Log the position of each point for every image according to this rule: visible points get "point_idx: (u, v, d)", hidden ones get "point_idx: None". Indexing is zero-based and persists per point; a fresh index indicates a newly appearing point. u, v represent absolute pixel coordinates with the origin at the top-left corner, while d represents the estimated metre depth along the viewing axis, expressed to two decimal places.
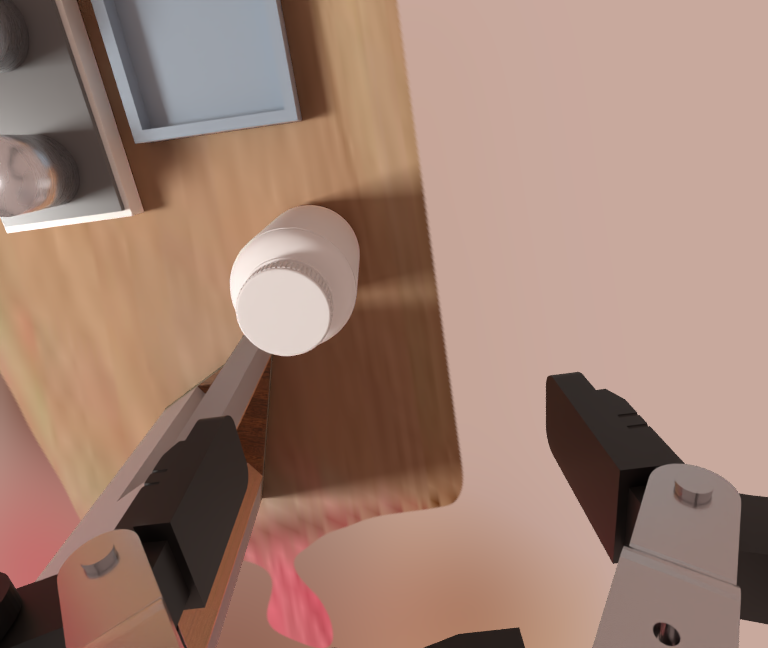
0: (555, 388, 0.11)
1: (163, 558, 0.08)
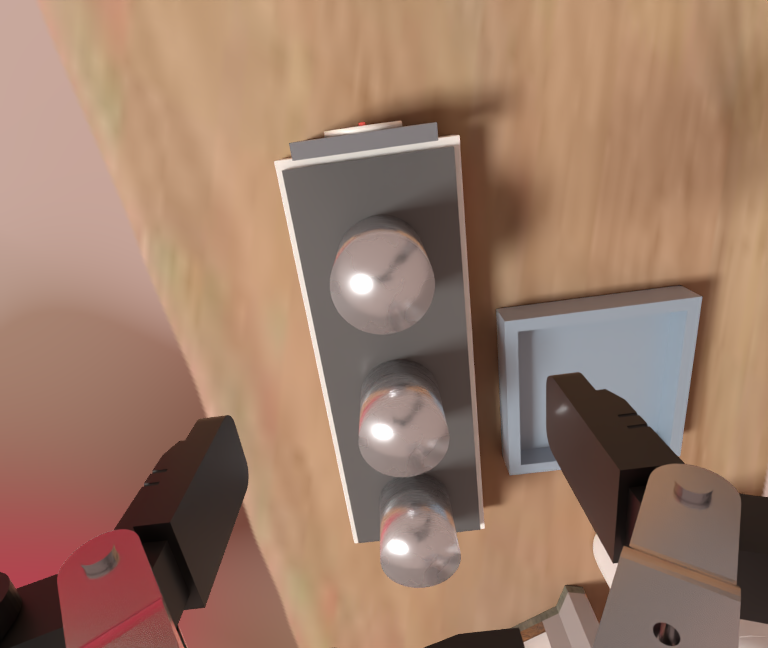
0: (555, 388, 0.11)
1: (163, 558, 0.08)
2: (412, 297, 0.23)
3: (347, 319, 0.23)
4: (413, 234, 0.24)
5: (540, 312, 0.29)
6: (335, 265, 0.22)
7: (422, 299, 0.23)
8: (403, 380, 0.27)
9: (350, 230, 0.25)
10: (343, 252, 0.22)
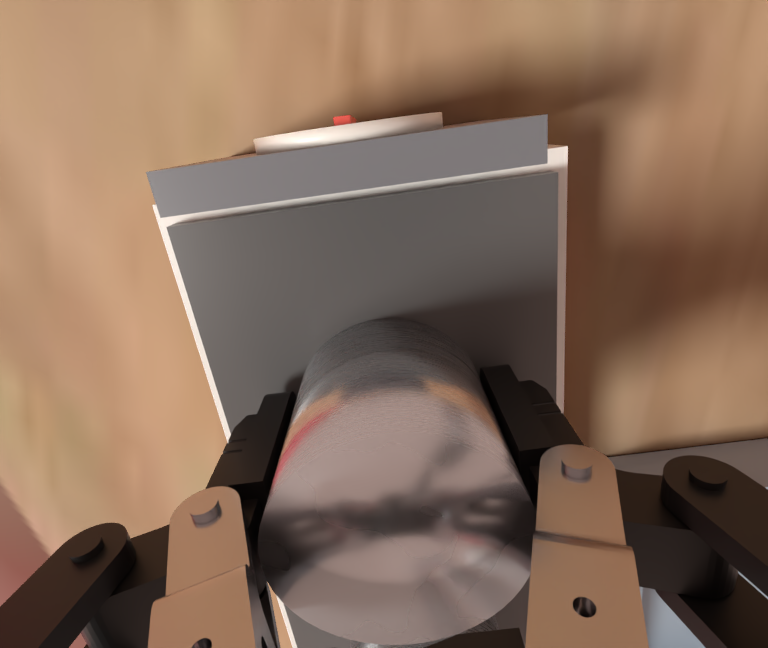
0: (484, 379, 0.12)
1: (256, 514, 0.09)
2: (477, 573, 0.09)
3: (309, 618, 0.09)
4: (468, 379, 0.10)
5: None
6: (270, 509, 0.08)
7: (503, 576, 0.09)
8: None
9: (323, 358, 0.11)
10: (291, 479, 0.08)
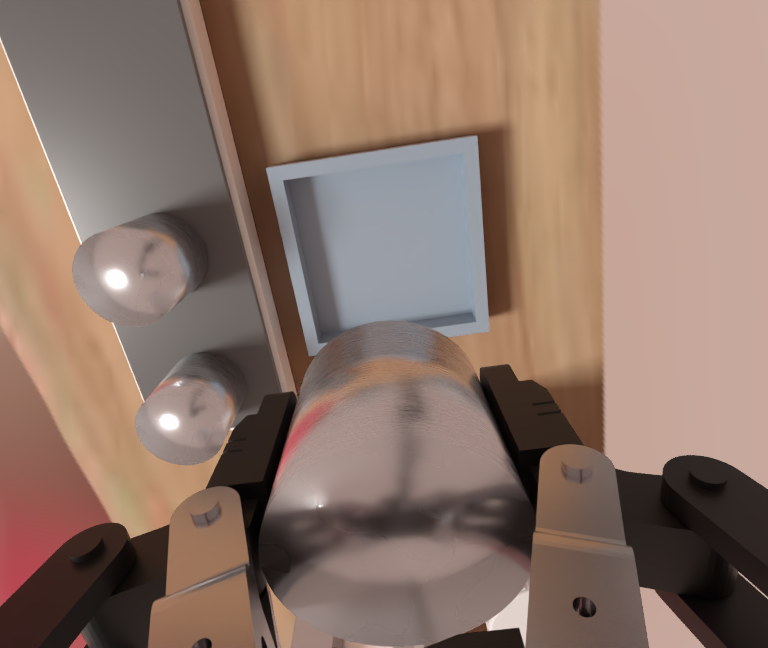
0: (484, 379, 0.12)
1: (256, 514, 0.09)
2: (476, 575, 0.09)
3: (309, 620, 0.09)
4: (468, 382, 0.10)
5: (309, 160, 0.27)
6: (271, 512, 0.08)
7: (503, 578, 0.09)
8: (136, 221, 0.25)
9: (323, 361, 0.11)
10: (291, 481, 0.08)
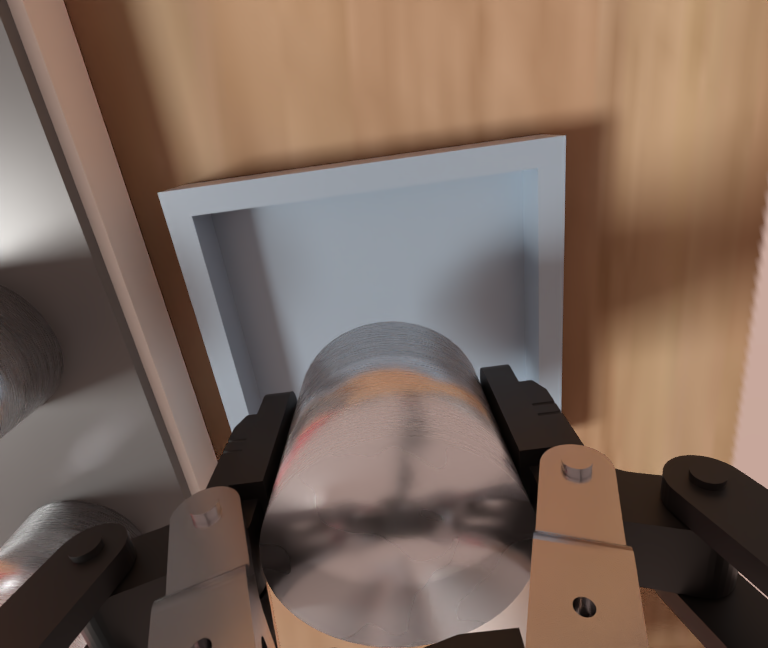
0: (484, 379, 0.12)
1: (256, 514, 0.09)
2: (476, 577, 0.09)
3: (310, 620, 0.09)
4: (468, 383, 0.10)
5: (244, 178, 0.14)
6: (271, 513, 0.08)
7: (503, 579, 0.09)
8: None
9: (323, 362, 0.11)
10: (292, 483, 0.08)
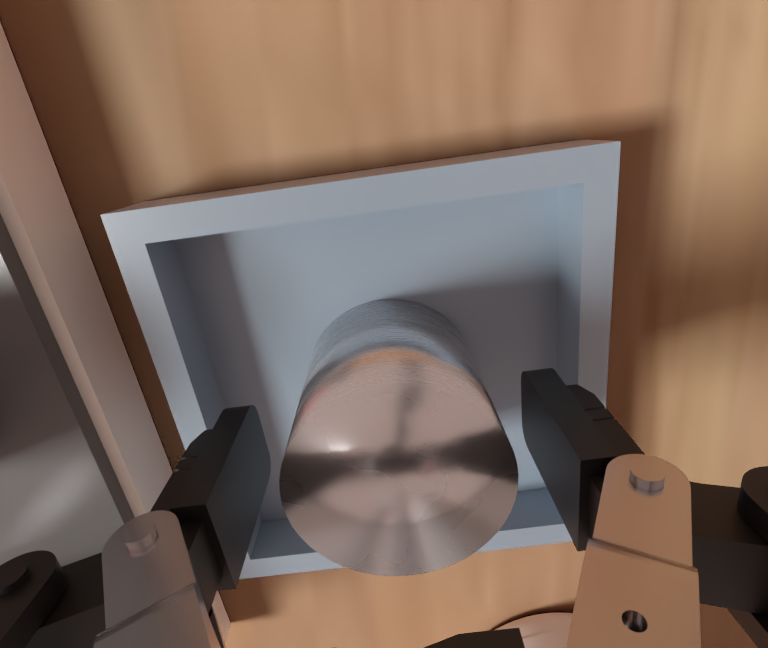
0: (528, 383, 0.11)
1: (199, 539, 0.09)
2: (465, 510, 0.10)
3: (321, 550, 0.10)
4: (459, 349, 0.12)
5: (211, 196, 0.11)
6: (290, 451, 0.09)
7: (488, 512, 0.10)
8: None
9: (331, 333, 0.13)
10: (308, 424, 0.09)
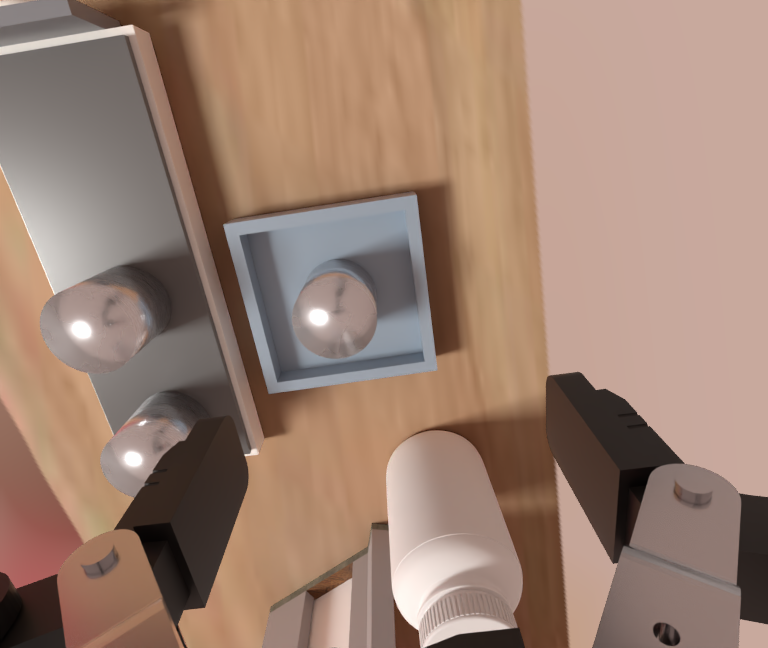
0: (555, 388, 0.11)
1: (163, 558, 0.08)
2: (359, 329, 0.28)
3: (307, 347, 0.28)
4: (362, 276, 0.30)
5: (264, 216, 0.29)
6: (295, 304, 0.27)
7: (367, 330, 0.28)
8: (101, 277, 0.27)
9: (312, 272, 0.31)
10: (301, 294, 0.27)
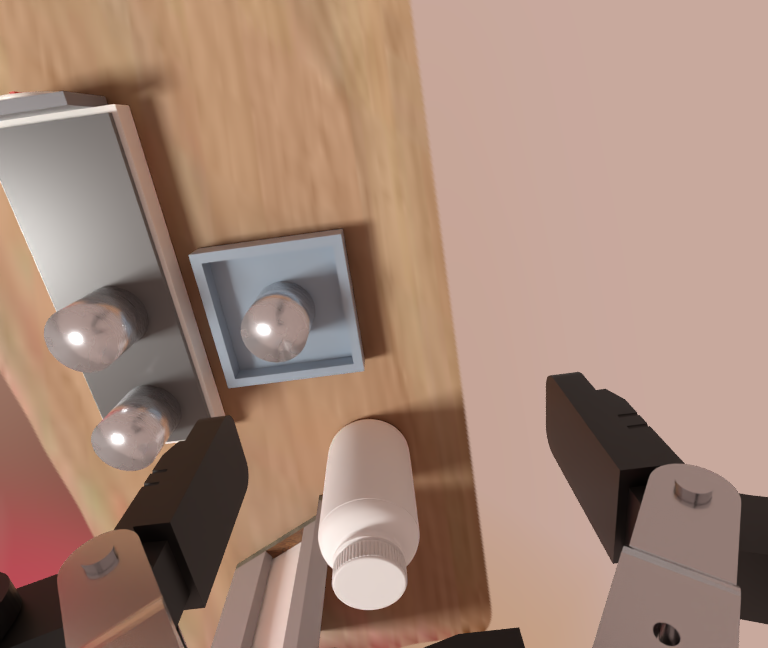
0: (555, 388, 0.11)
1: (163, 558, 0.08)
2: (293, 339, 0.36)
3: (253, 353, 0.36)
4: (299, 296, 0.37)
5: (221, 248, 0.37)
6: (243, 320, 0.35)
7: (300, 340, 0.36)
8: (91, 297, 0.34)
9: (261, 292, 0.38)
10: (247, 312, 0.35)
